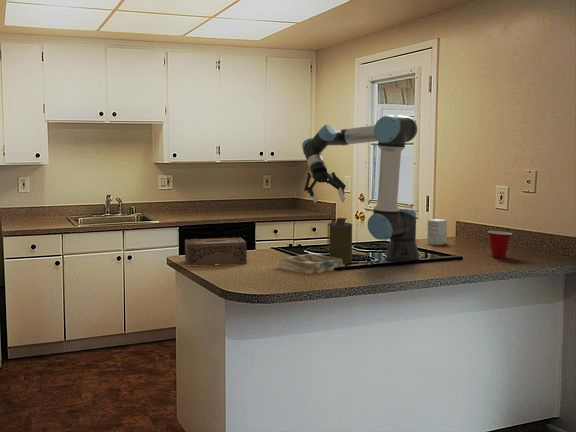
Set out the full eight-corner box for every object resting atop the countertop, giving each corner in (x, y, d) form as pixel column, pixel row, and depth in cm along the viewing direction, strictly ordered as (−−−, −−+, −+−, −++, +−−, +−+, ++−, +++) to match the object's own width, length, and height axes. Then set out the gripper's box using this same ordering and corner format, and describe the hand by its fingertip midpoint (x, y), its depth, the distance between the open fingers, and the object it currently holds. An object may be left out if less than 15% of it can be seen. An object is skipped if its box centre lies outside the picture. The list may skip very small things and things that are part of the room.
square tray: (311, 262, 312) (311, 253, 312) (344, 268, 298) (344, 258, 297) (277, 267, 299) (277, 258, 298) (310, 274, 284) (310, 264, 284)
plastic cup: (516, 258, 322) (517, 232, 320) (497, 259, 318) (498, 233, 316) (500, 254, 332) (501, 229, 330) (482, 256, 327) (482, 230, 326)
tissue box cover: (187, 267, 302) (187, 244, 301) (185, 261, 316) (184, 239, 315) (246, 264, 308) (246, 242, 307) (241, 259, 322) (241, 237, 321)
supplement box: (435, 242, 371) (436, 218, 369) (447, 243, 365) (447, 219, 364) (426, 243, 366) (427, 219, 365) (438, 245, 360) (438, 221, 359)
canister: (354, 261, 314) (354, 217, 312) (349, 265, 304) (350, 219, 302) (330, 260, 317) (330, 216, 314) (325, 264, 307) (325, 219, 304)
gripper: (338, 171, 337) (352, 205, 325) (290, 172, 328) (302, 207, 316) (343, 160, 331) (357, 194, 319) (294, 161, 323) (306, 196, 310)
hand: (330, 200), depth 317 cm, fingers open, 13 cm apart
